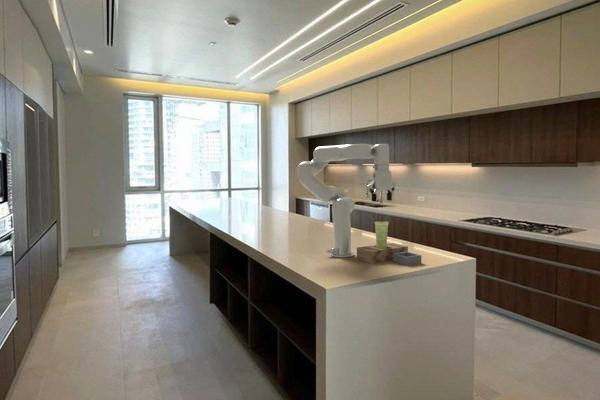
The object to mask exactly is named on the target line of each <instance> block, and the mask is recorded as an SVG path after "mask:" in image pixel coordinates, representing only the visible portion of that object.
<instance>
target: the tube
mask: <svg viewBox="0 0 600 400" xmlns="http://www.w3.org/2000/svg"><path fill="white" fill-rule="evenodd" d="M374 228H375V229H374V230H375V231H374V232H375V241H376V243H375V245H376V246H377V248H379V249H387V244H388V232H389V229H388V228H389V221H374Z"/></svg>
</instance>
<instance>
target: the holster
mask: <svg viewBox="0 0 600 400" xmlns="http://www.w3.org/2000/svg"><path fill="white" fill-rule="evenodd" d="M392 258H393V260H392V262H393V263H397V264H399V265H403V266H405V267H407V266H413V265H418V264H419V265H420V264H422V254H418V253H414V252H411V251H408V252H407V251H406V252H400V253H393V254H392Z"/></svg>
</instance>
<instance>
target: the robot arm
mask: <svg viewBox="0 0 600 400" xmlns="http://www.w3.org/2000/svg"><path fill="white" fill-rule="evenodd" d="M312 154H313V158H312V160H311V161H309V160H305V161H302V162H300V163H299V164H298V166H297V168H296V176H297V180H298V182H299V183H300V185H302V186H303V188H305V189H306V190H307V191H309V192H310V193H311V194H312V195H314V196H315V197H316V198H317V199H318V200H320V201H321V202H322V203H323V204H330V203H331V204H332V206H331V213H332V223H333V226H332V227H333V246H332V247H331V249H329V248H328V249H326V250H325V253H326V254H330V256H332V257H333V258H351V257H354V255H355V253H354V252H353V251H352V228H351V226H352V224H351V223H352V222H351V221H352V220H351V213H352V212H353V211H354V210H355V207H356V204H355V200H354V198H352V197H351V196H349V195H348V194H347V193H345V192H344V191H343V190H341V189H340V188H338V187H337V186H334V185H327V184H326V183H324V182H323V181H322V180H320V179H319V178H317V177H316V176H317V175H319V173H320V172H322V171H323V169H324V168H326V166H327V165H328V164H329V163H330V162H341V161H345V160H354V159H356V160H358V159H364V160H365V159H367V160H368V159H373V160H374V162H373V163H374V165H373V166H372V169H374V170H373V172H372V176H371V177H372V179H371V182H370V183H369V184H368V185H367V186H366V187H367V189H368V191H369V192H370V194H371V202H377V192H378V191H386V192H387V193H386V200H387V201H389V202H390V201H392V199H393V192H394V191H395V188H396V186H397V184H396V183H394V182H393V175H392V171H391V170H390V146H389V144H388V143H377V144H370V143H352V144H338V145H336V144H335V145H323V146H317V147H316V148H315V149H314V150H313V153H312Z"/></svg>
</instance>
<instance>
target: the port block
mask: <svg viewBox="0 0 600 400" xmlns="http://www.w3.org/2000/svg"><path fill="white" fill-rule="evenodd" d="M406 251H407V252H409V246H406V245H404V244H403V245H402V244H399V243H395V242H390V243H389V242H387V249H379V248H377V246H376V244H375V245H374V244H373V245H366V246H357V247H356V259H357V260H360V261H361V262H365V263H367V264H378V263H382V262H390V261H393V258H392V254H393V253H400V252H406Z"/></svg>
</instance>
